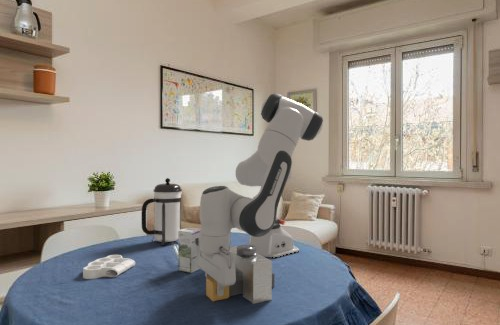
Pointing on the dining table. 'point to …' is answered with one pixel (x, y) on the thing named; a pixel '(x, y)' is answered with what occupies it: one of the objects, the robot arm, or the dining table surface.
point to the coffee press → (165, 212)
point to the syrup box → (187, 250)
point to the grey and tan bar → (226, 288)
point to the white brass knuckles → (107, 267)
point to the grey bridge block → (253, 273)
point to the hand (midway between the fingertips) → (214, 291)
